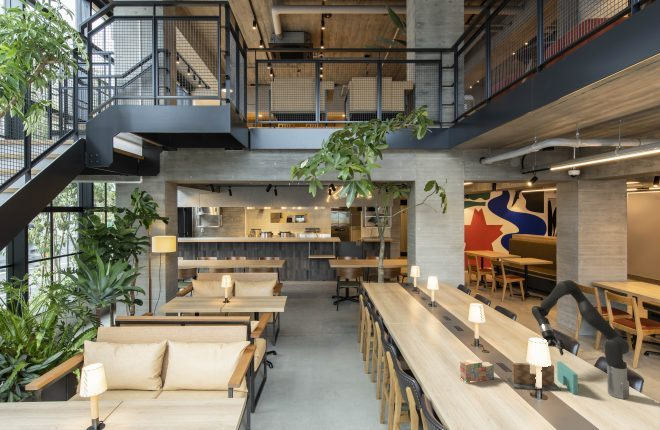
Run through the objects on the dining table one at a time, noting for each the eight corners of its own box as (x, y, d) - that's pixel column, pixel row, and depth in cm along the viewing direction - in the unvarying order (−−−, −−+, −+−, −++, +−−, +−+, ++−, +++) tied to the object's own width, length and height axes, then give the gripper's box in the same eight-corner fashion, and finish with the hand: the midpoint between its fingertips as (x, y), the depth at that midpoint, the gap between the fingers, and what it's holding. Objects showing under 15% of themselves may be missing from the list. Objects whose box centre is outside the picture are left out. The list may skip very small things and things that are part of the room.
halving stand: (551, 382, 235) (551, 361, 235) (560, 390, 223) (560, 369, 223) (507, 380, 239) (507, 359, 239) (514, 388, 227) (513, 367, 227)
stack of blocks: (487, 375, 246) (487, 357, 246) (494, 379, 240) (493, 360, 240) (460, 379, 240) (460, 360, 241) (466, 383, 234) (466, 364, 235)
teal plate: (557, 379, 238) (557, 361, 238) (561, 379, 238) (561, 361, 238) (573, 394, 218) (573, 374, 218) (577, 394, 218) (577, 374, 218)
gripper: (537, 329, 253) (545, 351, 241) (559, 329, 251) (568, 352, 239) (534, 334, 258) (542, 356, 247) (556, 335, 256) (564, 357, 245)
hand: (555, 354), depth 243 cm, fingers open, 8 cm apart
